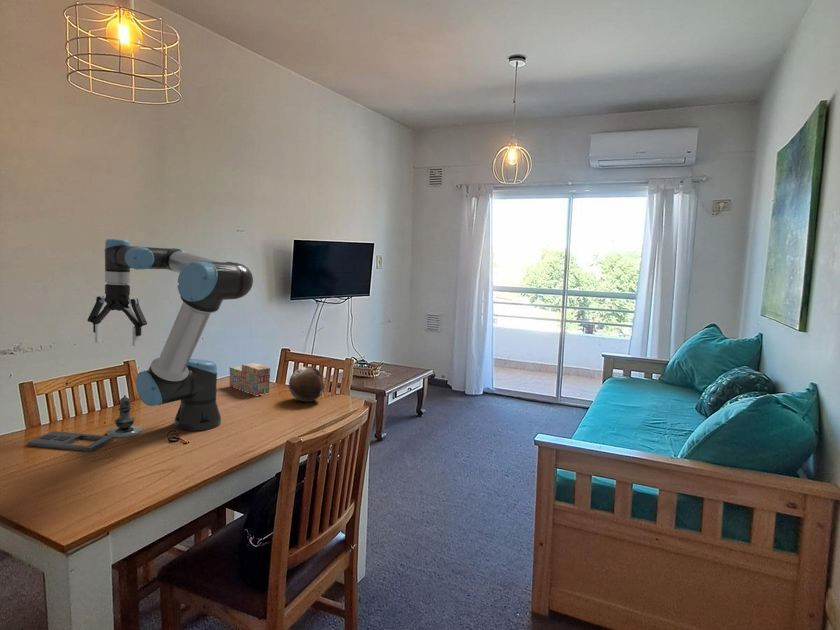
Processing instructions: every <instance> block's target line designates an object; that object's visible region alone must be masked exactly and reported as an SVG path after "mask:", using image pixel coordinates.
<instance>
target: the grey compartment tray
mask: <svg viewBox="0 0 840 630" xmlns="http://www.w3.org/2000/svg"><path fill="white" fill-rule="evenodd" d="M79 440H89V441H90V440H91V441H94V442H92V443H90V444H88V445H84V444H73V443H76V442H77V441H79ZM113 441H114V438H113V437H112V436H107V435H100V434H86V433H78V432H67V431H56V430H55V431H54V430H52V431H51V432H48V433H46V434H43V435H41V436H39V437H36V438H34V439H32V440H29V441H27V447H34V446H36V447H37V448H45V449H55V450H56V449H58V450H69V451H78V452H91V453H92V452H94V451H96V450H97V449H100V448H101V447H103V446H105V445H107V444H109V443H111V442H113ZM36 447H35V448H36Z"/></svg>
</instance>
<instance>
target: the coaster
mask: <svg viewBox="0 0 840 630" xmlns="http://www.w3.org/2000/svg"><path fill="white" fill-rule="evenodd" d="M131 427H132V428H133V429H134V430H133V431H131V432H127V433H117V432H116V430H117V429H118V428H119V427H117V426H115V427H112V428H109V429H108V430H107V431H106V436H112V437H113V439H124V438H132V437H135V436H137V435H140V434H141V433H142V432H143V431H142V427H141V426H138V425H134V424H133V425H132V426H131Z"/></svg>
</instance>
